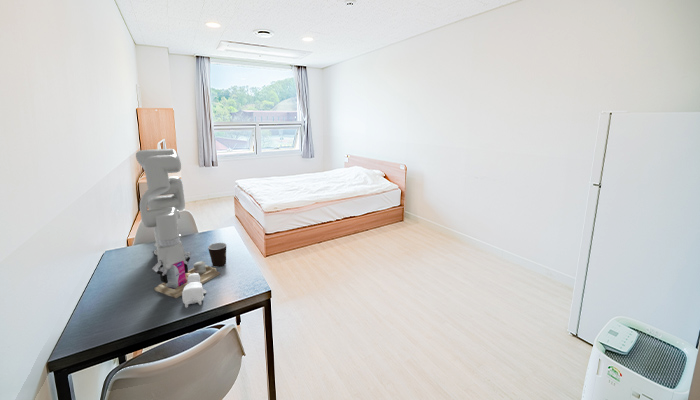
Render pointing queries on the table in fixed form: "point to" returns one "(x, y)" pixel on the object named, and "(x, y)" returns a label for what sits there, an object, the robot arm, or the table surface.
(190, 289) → the white figurine
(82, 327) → the table surface
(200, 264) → the beech caddy
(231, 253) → the table surface
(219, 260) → the coffee mug
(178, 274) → the supplement box
